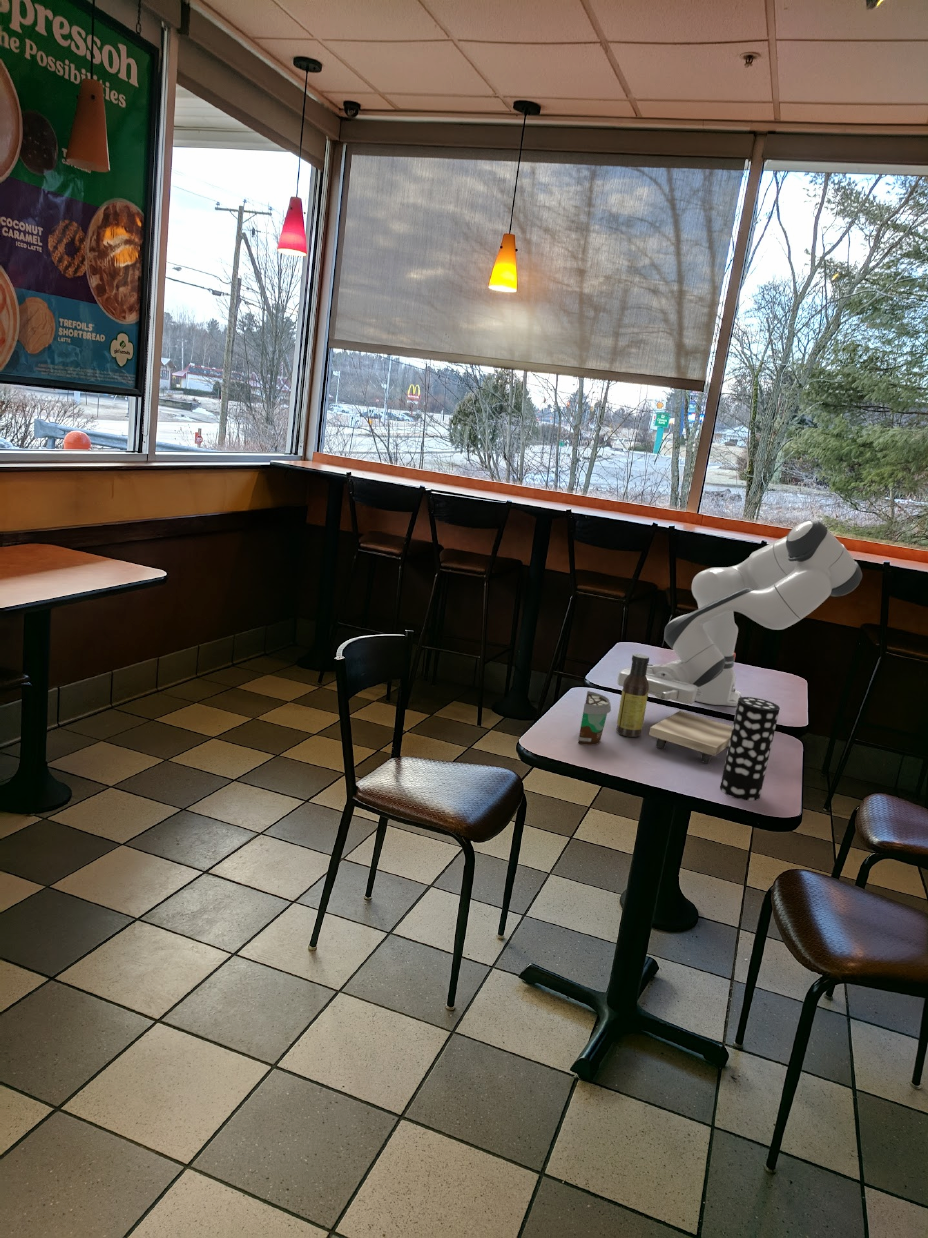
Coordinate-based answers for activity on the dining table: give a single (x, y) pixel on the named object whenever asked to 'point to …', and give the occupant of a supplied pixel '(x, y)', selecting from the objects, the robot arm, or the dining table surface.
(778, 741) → the dining table surface
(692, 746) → the dolly
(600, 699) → the food container
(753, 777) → the white-spotted black cylinder
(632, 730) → the sauce bottle
